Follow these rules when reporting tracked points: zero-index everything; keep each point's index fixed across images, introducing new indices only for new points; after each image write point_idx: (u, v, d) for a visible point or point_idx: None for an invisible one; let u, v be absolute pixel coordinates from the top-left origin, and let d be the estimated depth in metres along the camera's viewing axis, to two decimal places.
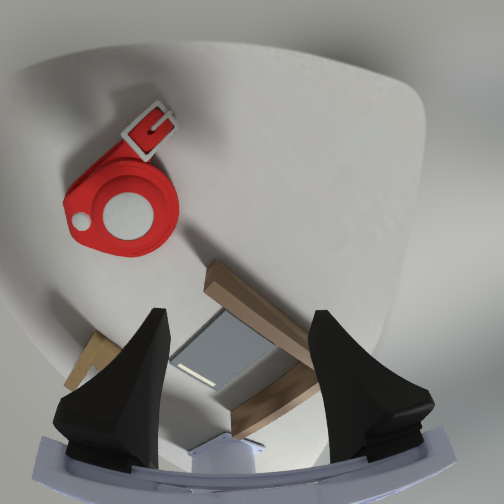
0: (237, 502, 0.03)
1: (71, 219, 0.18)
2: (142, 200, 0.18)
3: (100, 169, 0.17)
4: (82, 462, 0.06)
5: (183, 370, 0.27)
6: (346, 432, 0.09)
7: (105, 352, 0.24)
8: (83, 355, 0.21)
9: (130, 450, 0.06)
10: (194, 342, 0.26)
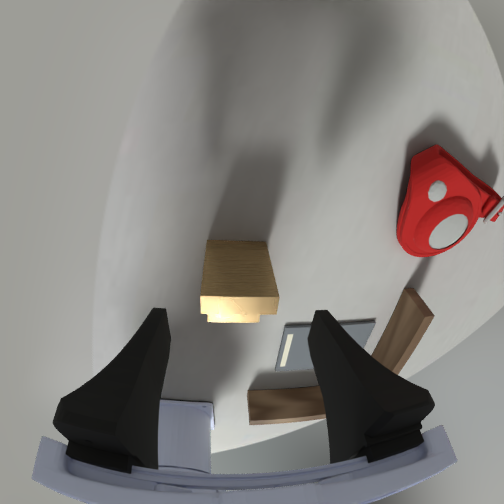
0: (237, 502, 0.03)
1: (437, 180, 0.15)
2: (461, 235, 0.17)
3: (476, 190, 0.15)
4: (82, 462, 0.06)
5: (284, 341, 0.24)
6: (346, 432, 0.09)
7: None
8: None
9: (130, 450, 0.06)
10: None
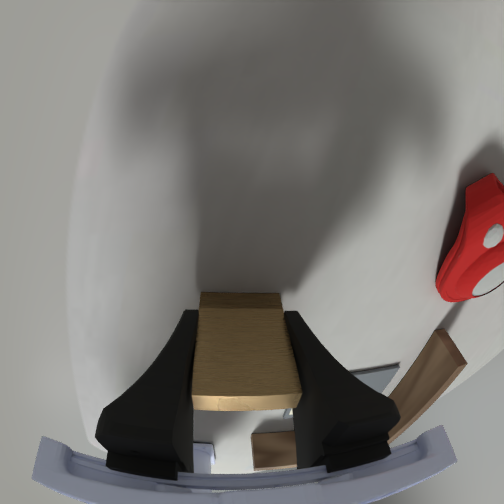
0: (237, 502, 0.03)
1: (496, 224, 0.10)
2: None
3: None
4: (123, 472, 0.06)
5: None
6: (308, 439, 0.08)
7: None
8: None
9: (180, 457, 0.06)
10: None
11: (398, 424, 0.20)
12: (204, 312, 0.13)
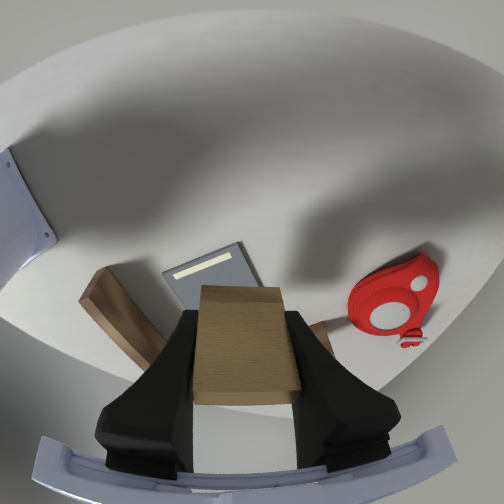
0: (237, 502, 0.03)
1: (426, 277, 0.20)
2: (389, 328, 0.23)
3: None
4: (122, 472, 0.06)
5: (216, 255, 0.20)
6: (308, 439, 0.08)
7: None
8: None
9: (179, 456, 0.06)
10: None
11: None
12: (205, 306, 0.13)
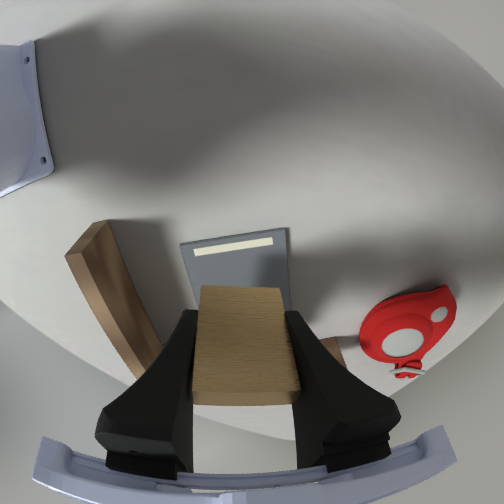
0: (237, 502, 0.03)
1: (447, 310, 0.19)
2: (396, 355, 0.21)
3: None
4: (122, 472, 0.06)
5: (256, 237, 0.17)
6: (308, 439, 0.08)
7: None
8: None
9: (179, 456, 0.06)
10: (286, 285, 0.19)
11: None
12: (204, 306, 0.13)
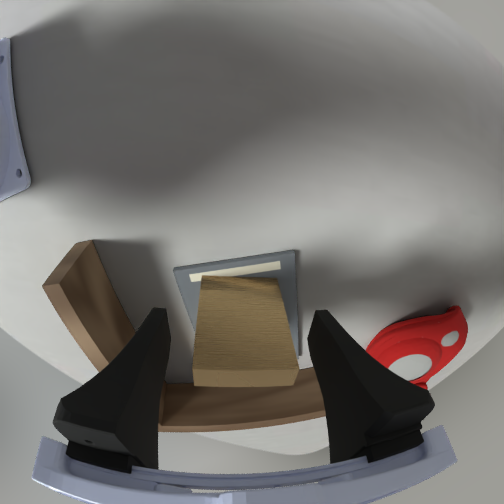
0: (237, 502, 0.03)
1: (458, 334, 0.16)
2: None
3: None
4: (82, 462, 0.06)
5: (262, 261, 0.14)
6: (346, 432, 0.09)
7: None
8: (289, 334, 0.12)
9: (130, 450, 0.06)
10: (294, 312, 0.16)
11: (221, 417, 0.17)
12: (205, 293, 0.13)
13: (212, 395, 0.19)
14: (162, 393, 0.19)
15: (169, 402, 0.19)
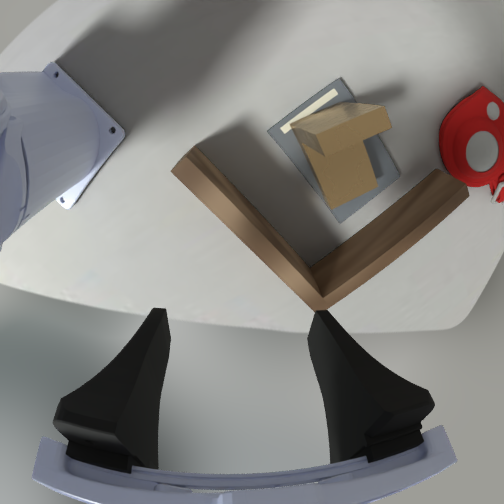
0: (237, 502, 0.03)
1: (496, 104, 0.13)
2: (485, 169, 0.17)
3: None
4: (82, 462, 0.06)
5: (322, 93, 0.16)
6: (346, 432, 0.09)
7: None
8: None
9: (130, 450, 0.06)
10: None
11: (370, 256, 0.19)
12: (298, 124, 0.16)
13: (352, 248, 0.21)
14: (309, 272, 0.22)
15: (319, 277, 0.22)
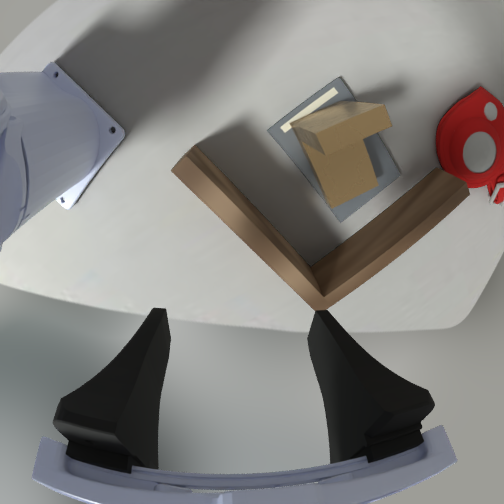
0: (237, 502, 0.03)
1: (494, 104, 0.13)
2: (483, 170, 0.17)
3: None
4: (82, 462, 0.06)
5: (322, 92, 0.16)
6: (346, 432, 0.09)
7: None
8: None
9: (130, 450, 0.06)
10: None
11: (371, 255, 0.19)
12: (298, 123, 0.16)
13: (353, 247, 0.21)
14: (310, 271, 0.22)
15: (320, 276, 0.21)
